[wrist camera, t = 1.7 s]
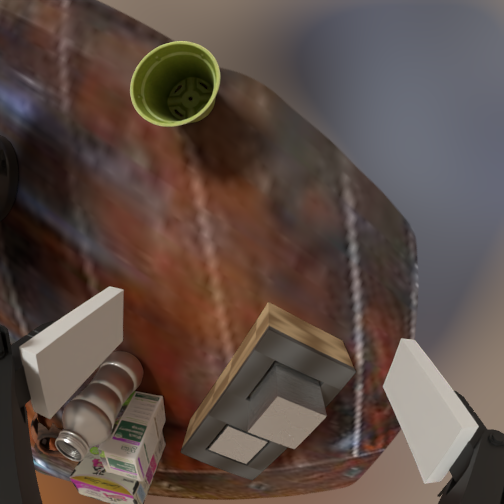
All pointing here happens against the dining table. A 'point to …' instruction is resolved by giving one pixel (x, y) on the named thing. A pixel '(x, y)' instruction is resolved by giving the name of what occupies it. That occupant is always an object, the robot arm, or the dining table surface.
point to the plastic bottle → (98, 405)
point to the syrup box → (134, 436)
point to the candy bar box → (113, 478)
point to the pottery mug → (44, 437)
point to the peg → (285, 406)
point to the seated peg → (237, 444)
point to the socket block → (250, 373)
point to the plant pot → (175, 84)
